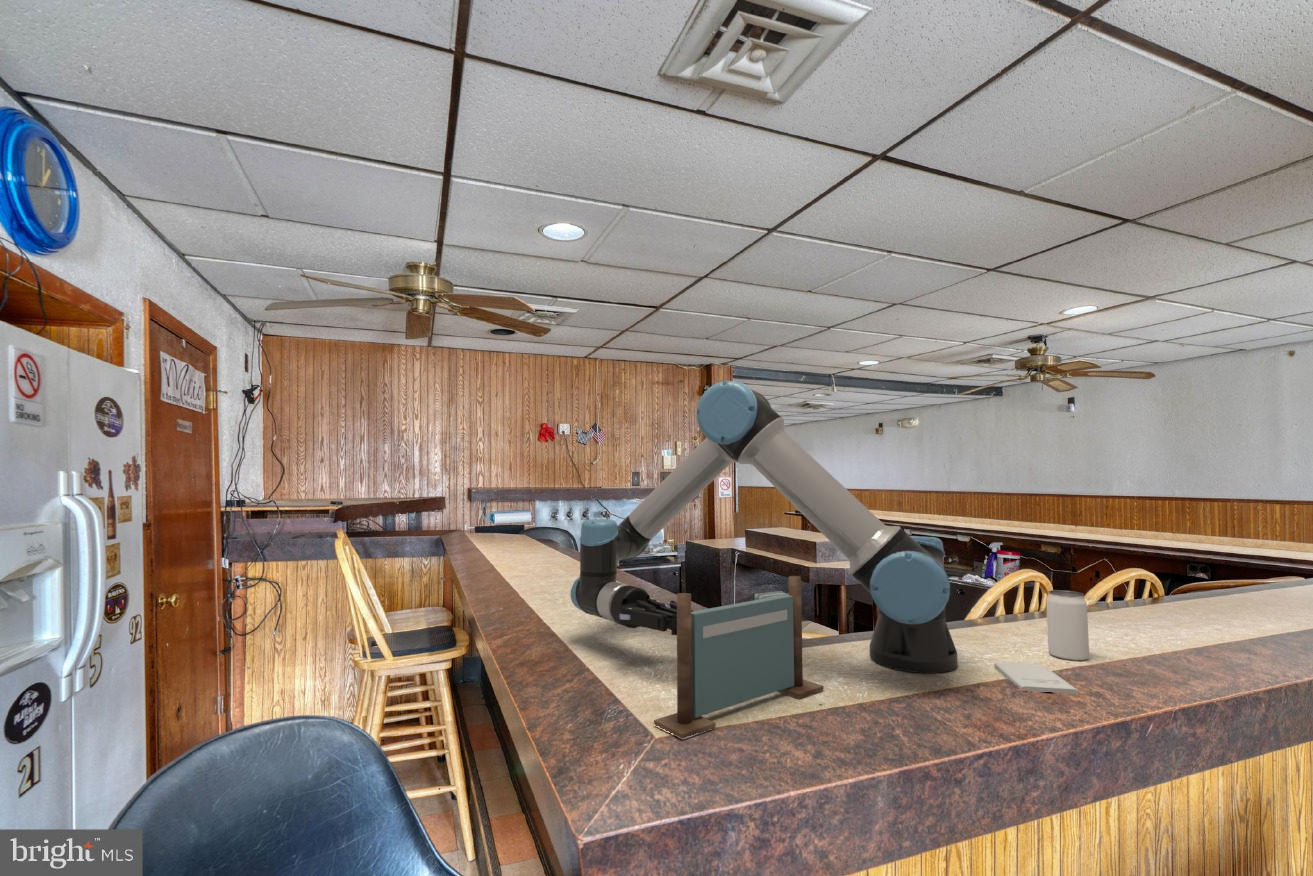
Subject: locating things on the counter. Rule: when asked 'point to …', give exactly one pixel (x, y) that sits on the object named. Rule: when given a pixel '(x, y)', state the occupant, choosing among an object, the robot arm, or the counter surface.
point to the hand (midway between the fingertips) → (708, 630)
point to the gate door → (741, 652)
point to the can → (1067, 625)
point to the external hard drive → (1034, 678)
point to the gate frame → (683, 719)
